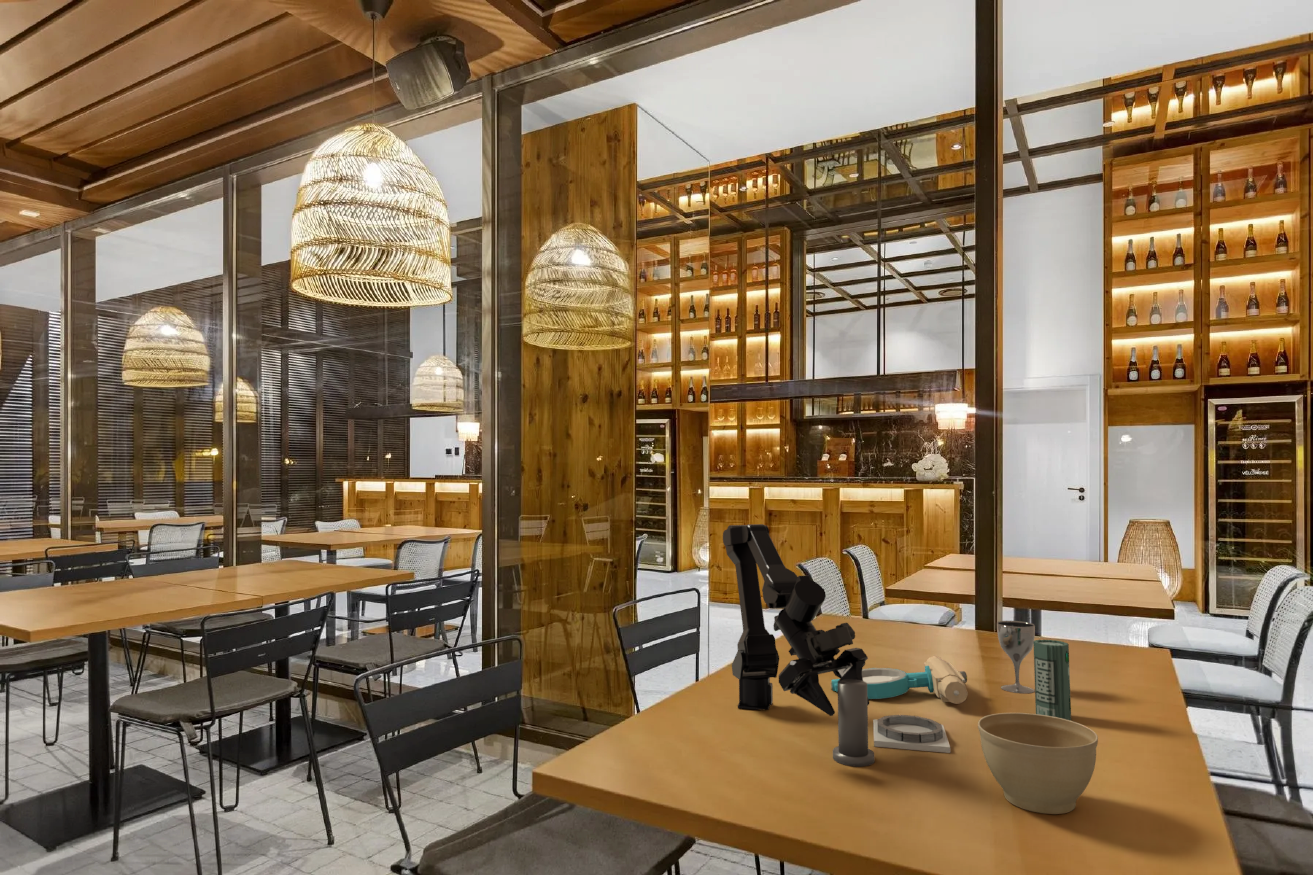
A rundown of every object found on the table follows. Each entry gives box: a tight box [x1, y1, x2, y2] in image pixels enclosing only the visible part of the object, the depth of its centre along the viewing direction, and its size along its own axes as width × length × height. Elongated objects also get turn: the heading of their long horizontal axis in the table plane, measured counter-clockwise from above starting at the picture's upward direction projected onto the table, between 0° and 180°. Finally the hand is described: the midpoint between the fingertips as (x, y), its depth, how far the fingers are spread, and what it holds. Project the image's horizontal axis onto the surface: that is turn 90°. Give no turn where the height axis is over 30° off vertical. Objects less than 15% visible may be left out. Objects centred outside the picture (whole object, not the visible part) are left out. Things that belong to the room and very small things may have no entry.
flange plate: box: [872, 714, 951, 754], centre depth 142 cm, size 13×13×2 cm
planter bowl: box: [977, 712, 1099, 815], centre depth 114 cm, size 16×16×11 cm
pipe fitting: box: [832, 679, 875, 768], centre depth 132 cm, size 7×7×13 cm
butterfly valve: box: [829, 655, 969, 705], centre depth 172 cm, size 27×7×30 cm
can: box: [1033, 639, 1072, 721], centre depth 155 cm, size 6×6×15 cm
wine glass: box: [996, 620, 1036, 694], centre depth 176 cm, size 8×8×15 cm
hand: (850, 709), depth 132 cm, fingers open, 9 cm apart
